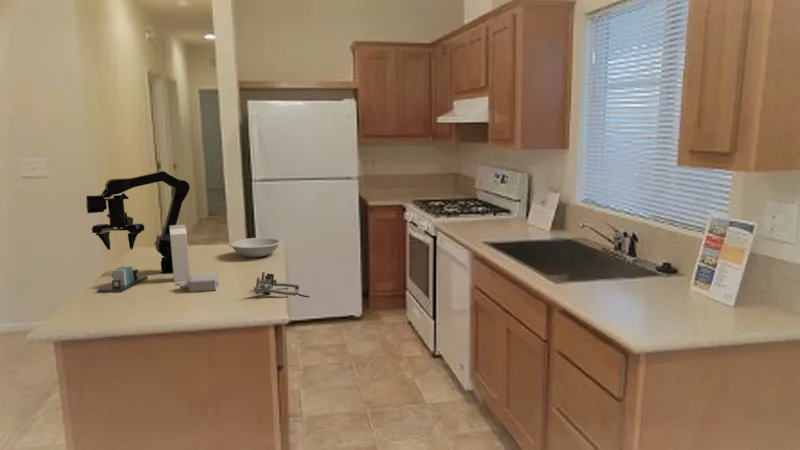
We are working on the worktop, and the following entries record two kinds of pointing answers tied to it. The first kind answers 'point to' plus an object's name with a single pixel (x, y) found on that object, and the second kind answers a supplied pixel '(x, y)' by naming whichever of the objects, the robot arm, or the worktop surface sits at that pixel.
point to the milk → (179, 252)
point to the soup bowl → (255, 246)
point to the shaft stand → (119, 287)
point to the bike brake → (270, 282)
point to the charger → (200, 283)
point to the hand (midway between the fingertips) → (120, 249)
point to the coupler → (123, 274)
